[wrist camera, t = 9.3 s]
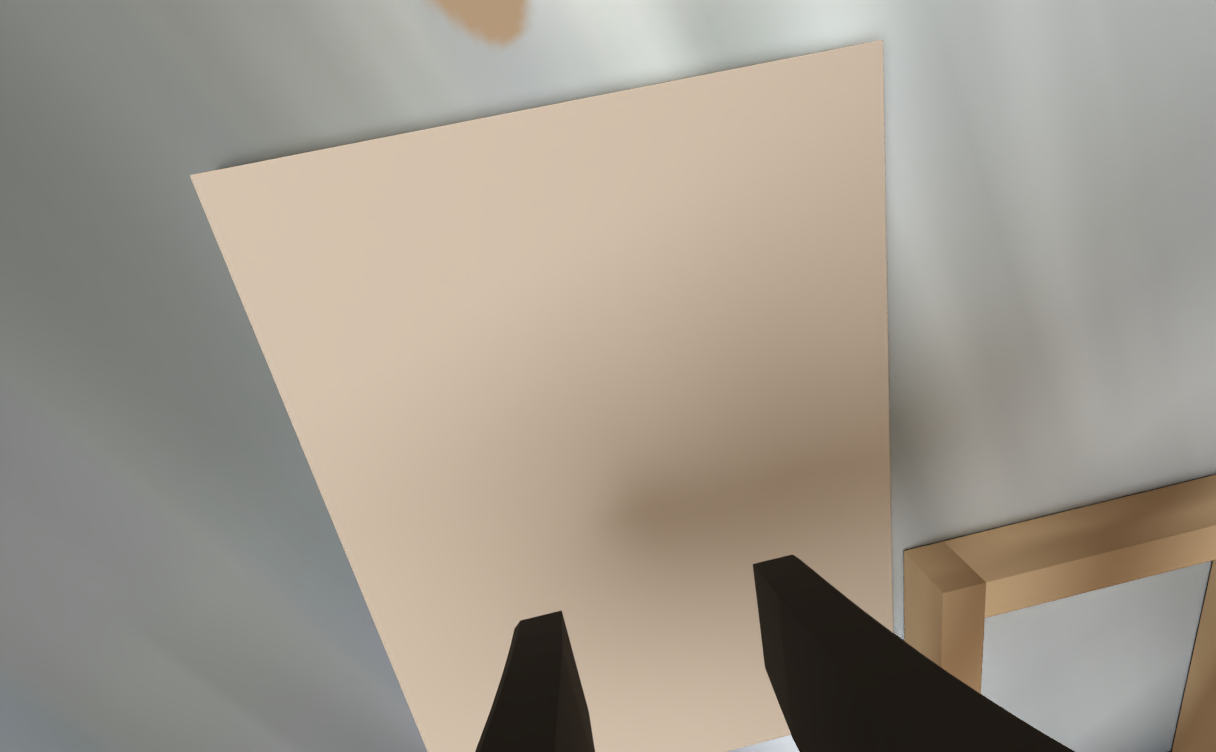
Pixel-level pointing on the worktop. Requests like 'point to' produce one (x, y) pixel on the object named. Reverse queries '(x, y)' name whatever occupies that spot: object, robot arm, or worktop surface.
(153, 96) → the worktop surface
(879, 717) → the robot arm
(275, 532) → the worktop surface
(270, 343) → the beige mat
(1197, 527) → the wooden square frame
